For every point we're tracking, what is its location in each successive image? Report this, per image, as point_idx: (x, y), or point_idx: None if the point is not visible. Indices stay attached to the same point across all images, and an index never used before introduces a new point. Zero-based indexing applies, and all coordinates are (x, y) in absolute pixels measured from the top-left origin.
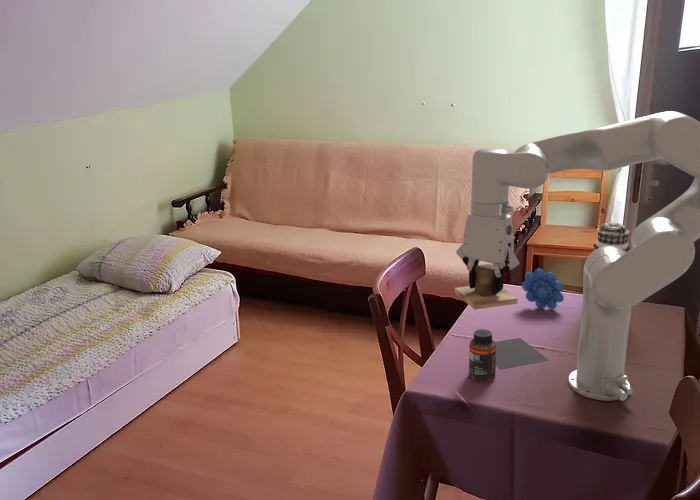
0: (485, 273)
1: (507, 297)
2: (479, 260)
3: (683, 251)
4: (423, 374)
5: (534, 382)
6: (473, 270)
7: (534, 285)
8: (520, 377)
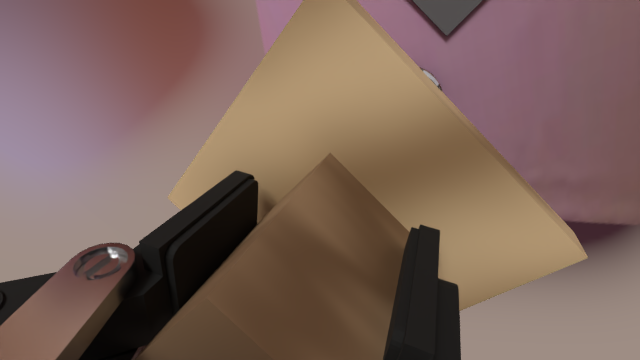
0: None
1: (497, 254)
2: (79, 332)
3: None
4: None
5: (568, 57)
6: (163, 326)
7: None
8: (517, 46)
